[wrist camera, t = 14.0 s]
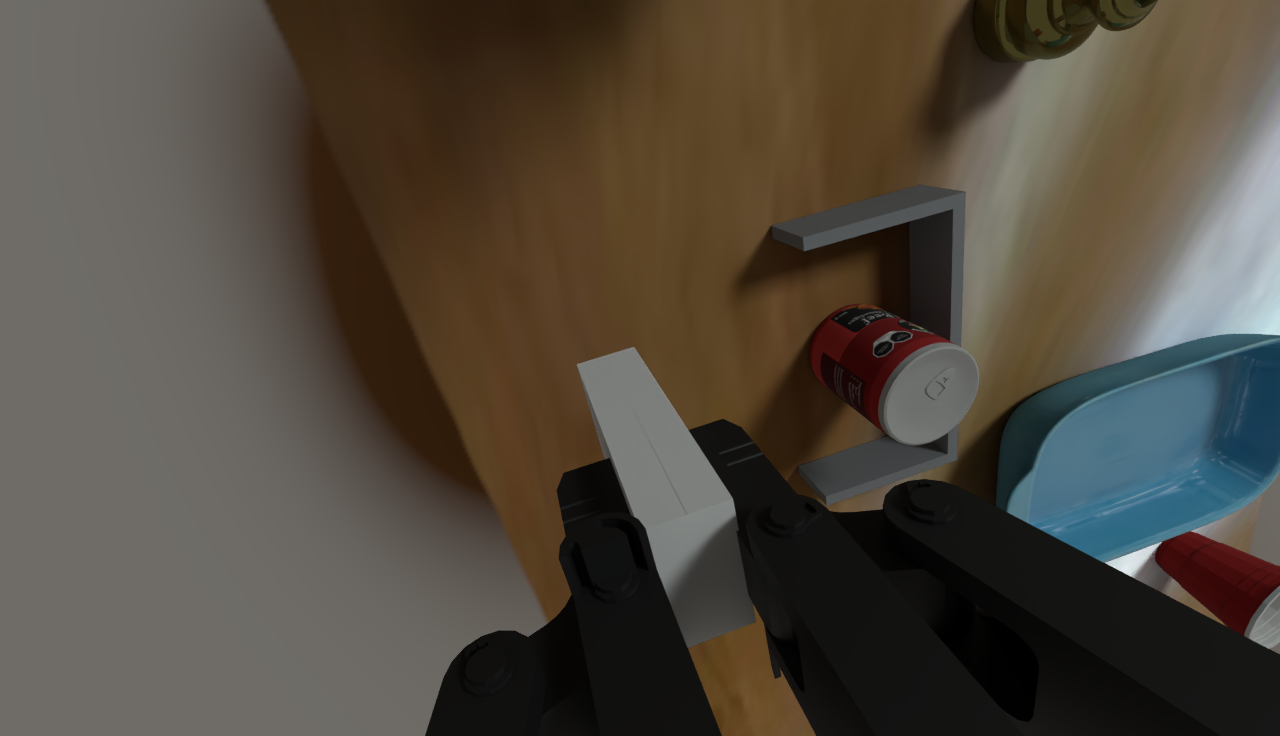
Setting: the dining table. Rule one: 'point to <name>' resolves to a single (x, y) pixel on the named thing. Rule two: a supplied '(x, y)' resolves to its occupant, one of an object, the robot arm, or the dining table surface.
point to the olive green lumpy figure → (1049, 25)
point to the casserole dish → (1146, 445)
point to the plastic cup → (1227, 584)
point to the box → (931, 308)
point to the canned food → (894, 372)
